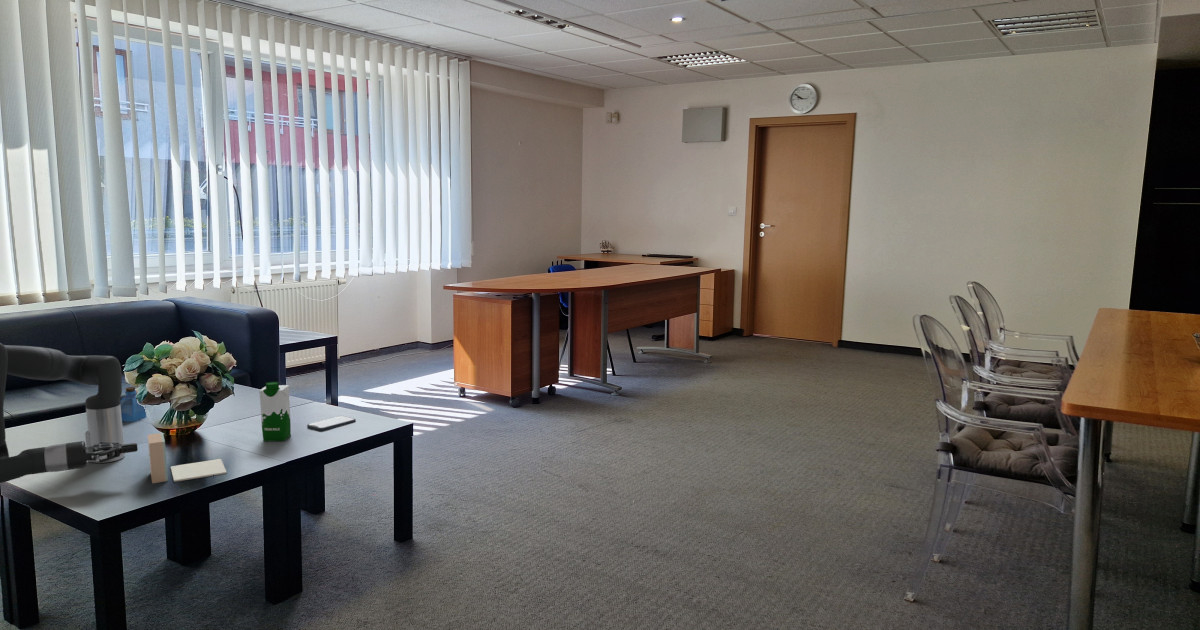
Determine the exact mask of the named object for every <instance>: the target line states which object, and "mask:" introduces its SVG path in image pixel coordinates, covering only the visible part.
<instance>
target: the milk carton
mask: <svg viewBox="0 0 1200 630" xmlns="http://www.w3.org/2000/svg"><path fill="white" fill-rule="evenodd" d="M259 400H260V401H259V402H260V417H261V431H262V439H263V440H262V441H263V442H284V441H286V440H287V439H288V438H289V437H290V436H291V435H292V434H291V432H292V431H291V429H292V428H291V406H290V405H291V403H290V384H289V385H288V384H287V385H286V384H282V385H280V384H279V382H278V381H269V382H265V386H264V387H262V388H261V389H260V390H259Z"/></svg>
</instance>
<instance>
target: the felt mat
mask: <svg viewBox="0 0 1200 630" xmlns="http://www.w3.org/2000/svg"><path fill="white" fill-rule="evenodd" d="M170 471H171V476H172V479H173V482H174V483H175V482H183V481H188V480H194V479H200V478H207V477H214V476H218V475H225V474H227V473H228V472H227V469H226V467H225V465H224V462H223V460H222V458H218V459H211V460H210V459H209V460H204V461H198V462H191V463H190V462H189V463H185V464H177V465H173V466H170ZM213 475H214V476H213Z"/></svg>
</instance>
